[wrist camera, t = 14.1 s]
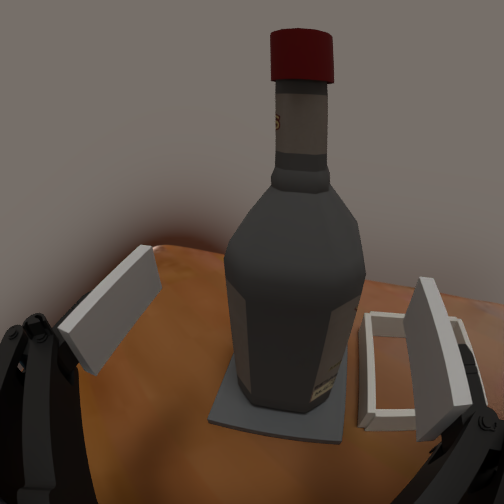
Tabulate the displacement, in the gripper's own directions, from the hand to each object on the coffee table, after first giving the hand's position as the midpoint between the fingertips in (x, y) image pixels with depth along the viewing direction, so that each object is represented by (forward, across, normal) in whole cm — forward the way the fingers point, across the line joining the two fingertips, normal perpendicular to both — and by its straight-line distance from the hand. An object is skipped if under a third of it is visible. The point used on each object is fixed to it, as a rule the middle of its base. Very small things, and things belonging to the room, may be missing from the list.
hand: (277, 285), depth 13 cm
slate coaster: (+7, 0, -19) cm, 20 cm away
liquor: (+7, 0, -18) cm, 19 cm away
